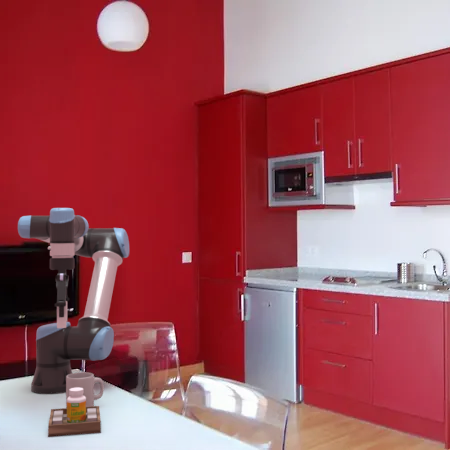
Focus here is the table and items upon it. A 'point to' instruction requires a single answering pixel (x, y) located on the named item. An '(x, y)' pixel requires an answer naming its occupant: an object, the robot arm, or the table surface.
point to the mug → (84, 386)
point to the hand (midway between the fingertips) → (62, 324)
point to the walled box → (61, 427)
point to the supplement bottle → (76, 406)
